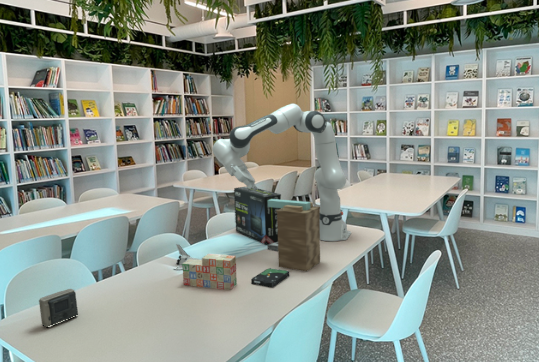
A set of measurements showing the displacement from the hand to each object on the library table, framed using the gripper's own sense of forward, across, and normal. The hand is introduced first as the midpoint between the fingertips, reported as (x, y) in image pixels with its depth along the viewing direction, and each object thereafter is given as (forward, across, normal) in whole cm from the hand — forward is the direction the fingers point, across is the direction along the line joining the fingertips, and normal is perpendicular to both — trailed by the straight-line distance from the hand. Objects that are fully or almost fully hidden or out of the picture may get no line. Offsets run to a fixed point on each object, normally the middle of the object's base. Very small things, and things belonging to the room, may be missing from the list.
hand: (254, 188), depth 206 cm
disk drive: (+39, -18, +17) cm, 46 cm away
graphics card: (+29, +30, +9) cm, 42 cm away
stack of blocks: (+25, -26, +36) cm, 51 cm away
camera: (+6, -64, +72) cm, 97 cm away
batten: (+18, -4, -7) cm, 20 cm away
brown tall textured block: (+40, +2, +6) cm, 41 cm away
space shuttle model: (+12, -6, +42) cm, 44 cm away
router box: (+12, +44, +22) cm, 50 cm away
